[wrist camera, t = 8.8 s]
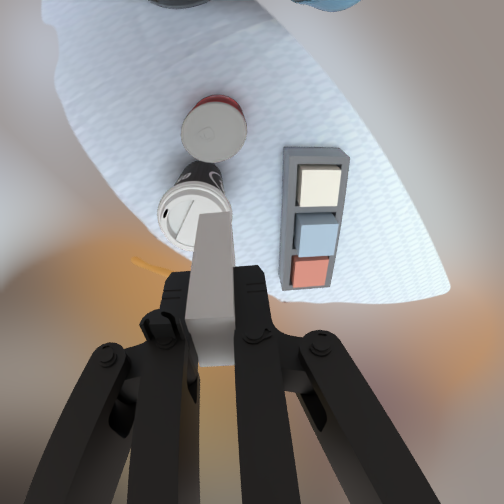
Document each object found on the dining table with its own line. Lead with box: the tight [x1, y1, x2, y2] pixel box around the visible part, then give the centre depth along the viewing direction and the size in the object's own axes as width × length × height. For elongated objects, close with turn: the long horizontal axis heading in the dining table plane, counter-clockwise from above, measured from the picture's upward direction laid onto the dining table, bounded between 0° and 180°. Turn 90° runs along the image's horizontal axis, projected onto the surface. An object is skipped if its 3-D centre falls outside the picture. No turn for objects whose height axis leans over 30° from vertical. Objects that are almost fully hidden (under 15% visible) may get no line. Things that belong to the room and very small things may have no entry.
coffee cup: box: [157, 161, 232, 252], centre depth 42 cm, size 10×10×15 cm
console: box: [279, 147, 350, 291], centre depth 51 cm, size 26×9×5 cm, turn 1°
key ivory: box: [296, 164, 341, 207], centre depth 45 cm, size 6×6×4 cm
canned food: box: [181, 95, 247, 163], centre depth 38 cm, size 8×8×11 cm
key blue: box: [294, 212, 339, 257], centre depth 48 cm, size 6×6×4 cm
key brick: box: [290, 255, 329, 288], centre depth 55 cm, size 6×6×4 cm
